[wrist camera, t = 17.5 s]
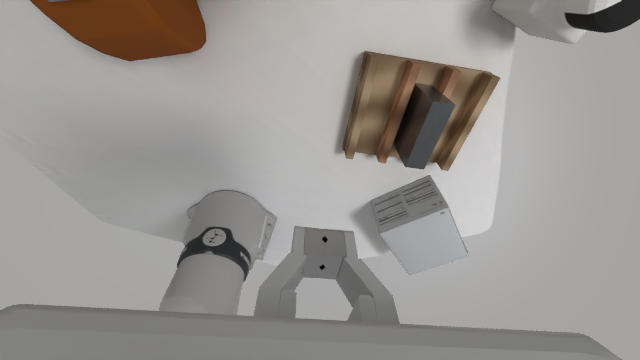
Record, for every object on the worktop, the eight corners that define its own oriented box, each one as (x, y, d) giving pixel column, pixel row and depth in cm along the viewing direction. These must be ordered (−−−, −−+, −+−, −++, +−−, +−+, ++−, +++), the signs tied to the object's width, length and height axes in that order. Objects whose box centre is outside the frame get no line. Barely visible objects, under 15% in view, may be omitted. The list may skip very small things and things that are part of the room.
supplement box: (369, 200, 53) (377, 234, 46) (429, 173, 49) (450, 206, 42) (397, 242, 62) (408, 277, 55) (451, 223, 58) (470, 257, 51)
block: (408, 143, 44) (424, 169, 37) (391, 140, 43) (405, 166, 37) (432, 85, 38) (455, 104, 31) (413, 82, 38) (433, 101, 31)
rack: (441, 160, 47) (449, 170, 44) (342, 147, 45) (344, 158, 42) (488, 71, 38) (502, 78, 35) (365, 50, 36) (369, 56, 33)
